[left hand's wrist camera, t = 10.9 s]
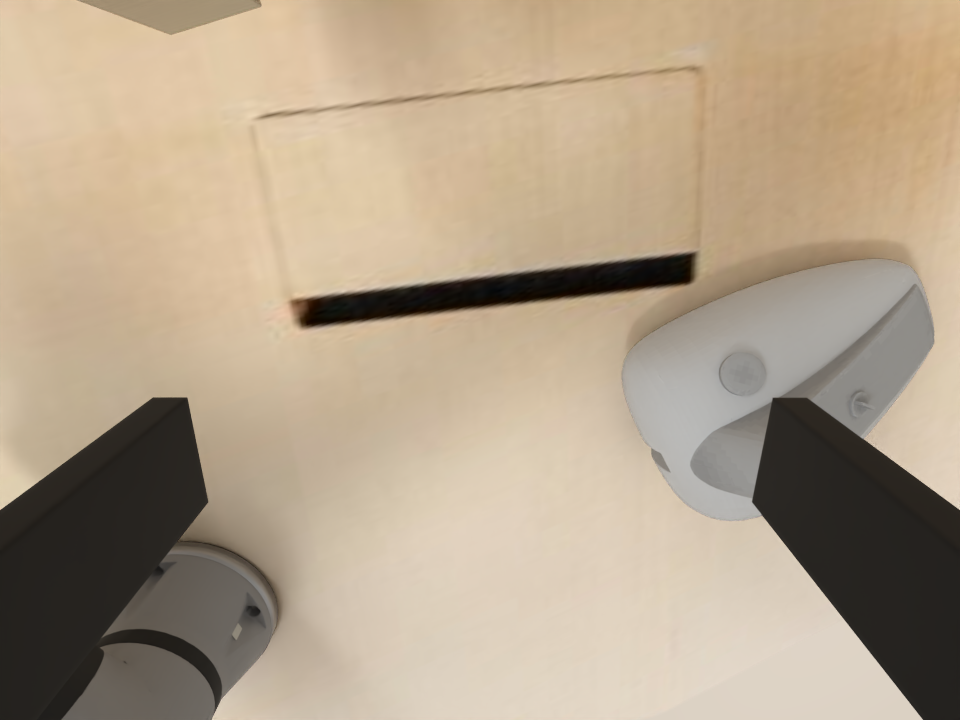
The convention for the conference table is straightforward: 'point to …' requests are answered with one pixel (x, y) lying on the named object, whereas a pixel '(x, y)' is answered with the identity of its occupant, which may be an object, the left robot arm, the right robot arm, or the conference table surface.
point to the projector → (772, 371)
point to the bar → (174, 11)
